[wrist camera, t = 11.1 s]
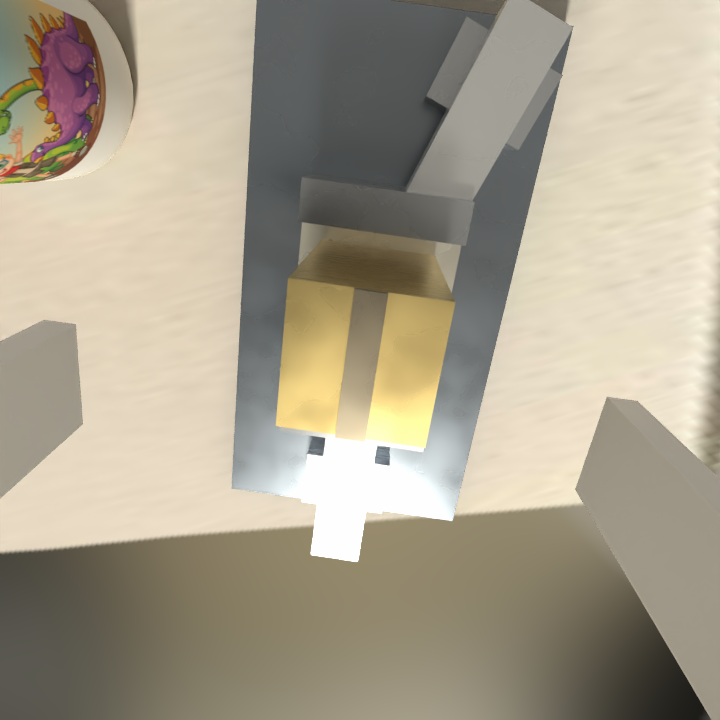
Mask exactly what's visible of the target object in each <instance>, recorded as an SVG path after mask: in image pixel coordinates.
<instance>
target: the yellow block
mask: <svg viewBox="0 0 720 720" xmlns="http://www.w3.org/2000/svg"><path fill="white" fill-rule="evenodd" d="M454 307H455V300H454V298H453V295H452V293H451V291H450V289H449V286H448V284H447V282H446V280H445V278H444V275H443V273H442V271H441V269H440V266H439V264H438V262H437V260H436V257H435V255H428V254H421V253H414V252H407V251H400V250H393V249H386V248H379V247H372V246H366V245H359V244H352V243H345V242H338V241H331V240H324V239H322V240H321V241H320V242H319V243H318V244H317V245H316V247H315V248H314V249H313V250H312V251H311V252H310V253H309V255H308V256H307V257H306V258H305V259H304V260H303V261H302V263H301V264H300V265H299V266H298V267H297V268H296V269H295V271H294V272H293V273H292V274H291V275H290V276H289V277H288V285H287V297H286V309H285V320H284V332H283V344H282V356H281V368H280V380H279V392H278V404H277V416H276V426H279V427H286V428H293V429H300V430H307V431H314V432H320V433H327V434H334V435H335V438H340V439H347V440H354V441H361V442H365V440H366V439H368V440H375V441H382V442H389V443H395V444H402V445H409V446H416V447H423V448H425V447H426V442H427V437H428V432H429V428H430V423H431V418H432V413H433V408H434V404H435V399H436V394H437V389H438V384H439V379H440V375H441V370H442V365H443V360H444V355H445V350H446V346H447V341H448V336H449V331H450V326H451V322H452V317H453V312H454Z"/></svg>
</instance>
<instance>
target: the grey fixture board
mask: <svg viewBox="0 0 720 720" xmlns="http://www.w3.org/2000/svg"><path fill="white" fill-rule="evenodd" d="M572 30H573V26H570V25H568V24H567V23H565V22H564V21H562V20H561V19H559V18H557V17H556V16H554V15H553V14H551V13H549V12H548V11H546V10H545V9H543V8H542V7H540V6H538V5H537V4H535V3H534V2H532V1H530V0H506V1H505V3H504V4H503V5H502V7H501V8H500V10H499V12H498V14H497V15H492V14H485V13H478V12H471V11H464V10H457V9H450V8H443V7H436V6H429V5H422V4H415V3H408V2H401V1H394V0H257V6H256V26H255V45H254V64H253V84H252V103H251V123H250V142H249V162H248V181H247V201H246V220H245V240H244V259H243V278H242V298H241V317H240V337H239V356H238V376H237V395H236V415H235V434H234V454H233V473H232V489H239V490H245V491H252V492H259V493H266V494H273V495H279V496H286V497H293V498H300V499H302V502H306V503H313V504H317V511H316V519H315V527H314V535H313V543H312V551H311V555H317V556H324V557H331V558H338V559H345V560H351V561H358V556H359V550H360V543H361V538H362V532H363V526H364V520H365V514H366V511H367V512H374V513H381V512H382V511H388V512H395V513H402V514H408V515H415V516H422V517H429V518H435V519H442V520H449V521H452V520H453V517H454V513H455V509H456V505H457V501H458V496H459V492H460V488H461V484H462V480H463V476H464V472H465V468H466V464H467V460H468V455H469V451H470V447H471V443H472V439H473V435H474V431H475V427H476V423H477V419H478V415H479V410H480V406H481V402H482V398H483V394H484V390H485V386H486V382H487V378H488V374H489V369H490V365H491V361H492V357H493V353H494V349H495V345H496V341H497V337H498V333H499V329H500V324H501V320H502V316H503V312H504V308H505V304H506V300H507V296H508V292H509V288H510V283H511V279H512V275H513V271H514V267H515V263H516V259H517V255H518V251H519V247H520V243H521V238H522V234H523V230H524V226H525V222H526V218H527V214H528V210H529V206H530V202H531V197H532V193H533V189H534V185H535V181H536V177H537V173H538V169H539V165H540V161H541V157H542V152H543V148H544V144H545V140H546V136H547V132H548V128H549V124H550V120H551V116H552V111H553V107H554V103H555V99H556V95H557V91H558V87H559V83H560V79H561V78H562V76H563V75H562V70H563V66H564V62H565V58H566V54H567V50H568V46H569V42H570V38H571V34H572ZM322 239H324V240H331V241H338V242H345V243H352V244H359V245H366V246H372V247H379V248H386V249H393V250H400V251H407V252H414V253H421V254H428V255H435V257H436V260H437V262H438V264H439V266H440V269H441V271H442V273H443V275H444V278H445V280H446V282H447V284H448V286H449V289H450V291H451V293H452V295H453V298H454V300H455V307H454V312H453V317H452V322H451V326H450V331H449V336H448V341H447V346H446V350H445V355H444V360H443V365H442V370H441V375H440V379H439V384H438V389H437V394H436V399H435V404H434V408H433V413H432V418H431V423H430V428H429V432H428V437H427V442H426V447H425V448H423V447H416V446H409V445H402V444H395V443H389V442H382V441H375V440H368V439H366V440H365V442H361V441H354V440H347V439H340V438H335V435H334V434H327V433H320V432H314V431H307V430H300V429H293V428H286V427H279V426H276V416H277V404H278V392H279V380H280V368H281V356H282V344H283V332H284V320H285V309H286V297H287V285H288V277H289V276H290V275H291V274H292V273H293V272H294V271H295V269H296V268H297V267H298V266H299V265H300V264H301V263H302V261H303V260H304V259H305V258H306V257H307V256H308V255H309V253H310V252H311V251H312V250H313V249H314V248H315V247H316V245H317V244H318V243H319V242H320V241H321V240H322Z"/></svg>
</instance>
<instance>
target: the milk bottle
mask: <svg viewBox="0 0 720 720" xmlns="http://www.w3.org/2000/svg"><path fill="white" fill-rule="evenodd" d="M133 105H134V103H133V84H132V79H131V74H130V69H129V65H128V62H127V59H126V56H125V54H124V51H123V49H122V46H121V44H120V42H119V40H118V38H117V36H116V35H115V33H114V31H113V30H112V28H111V27H110V25H109V24H108V22H107V21H106V20H105V18H104V17H103V16H102V15H101V13H100V12H99V11H98V10H97V9H96V8H95V7H94V6H93V5H92V4H91V3H90V2H89V1H88V0H0V184H5V183H21V182H37V181H52V180H61V179H69V178H76V177H80V176H84V175H87V174H89V173H92V172H94V171H95V170H97V169H99V168H100V167H102V166H103V165H105V164H106V163H107V162H108V161H109V160H110V159H111V158H112V157H113V156H114V155H115V154H116V152H117V151H118V149H119V148H120V146H121V145H122V143H123V141H124V139H125V137H126V134H127V132H128V129H129V126H130V123H131V118H132V111H133Z"/></svg>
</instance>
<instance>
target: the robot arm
mask: <svg viewBox="0 0 720 720" xmlns="http://www.w3.org/2000/svg"><path fill="white" fill-rule="evenodd" d="M82 424H83V419H82V405H81V391H80V377H79V363H78V349H77V335H76V324H69V323H62V322H55V321H48V320H43V321H41V322H39V323H37V324H35V325H33V326H31V327H29V328H27V329H25V330H23V331H21V332H19V333H17V334H15V335H12V336H10V337H8V338H6V339H4V340H2V341H0V498H1V497H2V496H4V495H5V494H6V493H7V492H8V491H9V490H10V489H11V488H12V487H14V486H15V485H16V484H17V483H18V482H19V481H20V480H21V479H22V478H24V477H25V476H26V475H27V474H28V473H29V472H30V471H31V470H32V469H33V468H35V467H36V466H37V465H38V464H39V463H40V462H41V461H42V460H43V459H45V458H46V457H47V456H48V455H49V454H50V453H51V452H52V451H53V450H55V449H56V448H57V447H58V446H59V445H60V444H61V443H62V442H63V441H65V440H66V439H67V438H68V437H69V436H70V435H71V434H72V433H73V432H74V431H76V430H77V429H78V428H79V427H80V426H81V425H82ZM575 490H576V492H577V493H578V495H579V497H580V498H581V500H582V502H583V503H584V505H585V507H586V508H587V510H588V512H589V513H590V515H591V517H592V519H593V520H594V522H595V524H596V525H597V527H598V529H599V530H600V532H601V534H602V536H603V537H604V539H605V541H606V542H607V544H608V546H609V547H610V549H611V551H612V552H613V554H614V556H615V557H616V559H617V561H618V562H619V564H620V566H621V568H622V569H623V571H624V573H625V574H626V576H627V578H628V579H629V581H630V583H631V584H632V586H633V588H634V590H635V591H636V593H637V595H638V596H639V598H640V600H641V601H642V603H643V605H644V606H645V608H646V610H647V612H648V613H649V615H650V617H651V618H652V620H653V622H654V623H655V625H656V627H657V628H658V630H659V632H660V633H661V635H662V637H663V638H664V640H665V642H666V644H667V645H668V647H669V649H670V650H671V652H672V654H673V655H674V657H675V659H676V661H677V662H678V664H679V666H680V667H681V669H682V671H683V672H684V674H685V676H686V677H687V679H688V681H689V683H690V684H691V686H692V688H693V689H694V691H695V693H696V694H697V696H698V698H699V699H700V701H701V703H702V704H703V706H704V708H705V710H706V711H707V713H708V715H709V716H710V718H711V719H712V720H720V479H719V478H718V477H717V476H716V475H715V474H714V473H713V472H712V471H711V470H710V469H709V468H708V467H707V466H706V465H705V464H704V463H702V462H701V461H700V460H699V459H698V458H697V457H696V456H695V455H694V454H693V453H692V452H691V451H690V450H689V449H688V448H687V447H686V446H684V445H683V444H682V443H681V442H680V441H679V440H678V439H677V438H676V437H675V436H674V435H673V434H672V433H671V432H670V431H669V430H668V429H666V428H665V427H664V426H663V425H662V424H661V423H660V422H659V421H658V420H657V419H656V418H655V417H654V416H653V415H652V414H651V413H649V412H648V411H647V410H646V409H645V408H644V407H643V406H642V405H641V404H640V403H639V402H638V401H633V400H625V399H618V398H611V397H607V399H606V401H605V404H604V407H603V410H602V413H601V416H600V419H599V422H598V425H597V428H596V431H595V434H594V437H593V440H592V442H591V445H590V448H589V451H588V454H587V457H586V460H585V463H584V466H583V469H582V472H581V475H580V478H579V480H578V483H577V486H576V489H575Z"/></svg>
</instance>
